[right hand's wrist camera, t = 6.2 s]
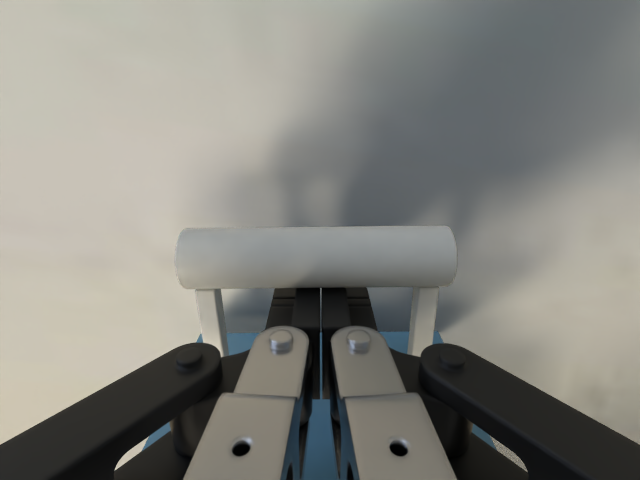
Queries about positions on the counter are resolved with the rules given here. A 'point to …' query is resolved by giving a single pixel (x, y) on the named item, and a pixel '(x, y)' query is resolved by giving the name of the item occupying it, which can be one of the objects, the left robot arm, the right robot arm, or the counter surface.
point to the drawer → (317, 272)
